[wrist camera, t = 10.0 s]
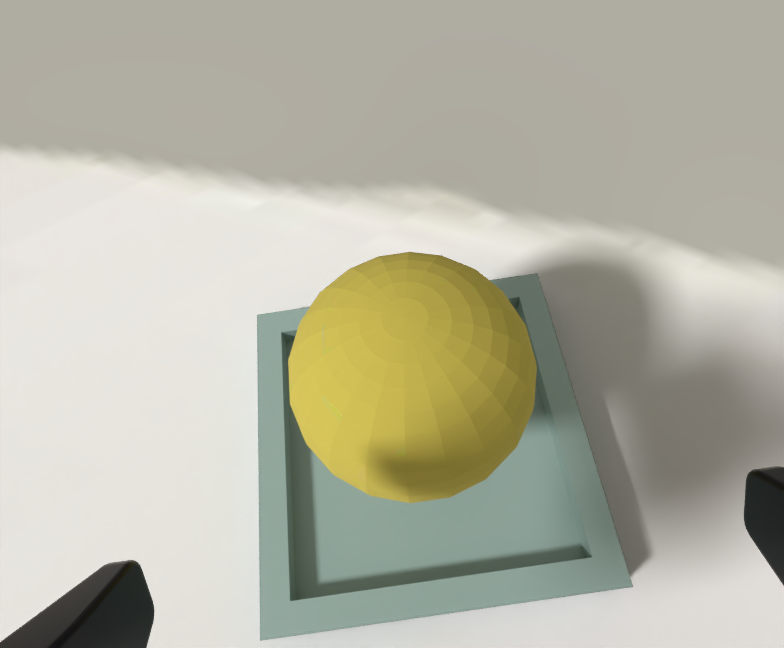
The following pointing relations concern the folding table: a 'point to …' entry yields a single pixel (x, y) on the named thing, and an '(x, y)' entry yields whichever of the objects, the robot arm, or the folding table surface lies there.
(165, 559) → the folding table surface
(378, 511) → the tray
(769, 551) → the robot arm
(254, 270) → the folding table surface
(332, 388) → the light bulb
